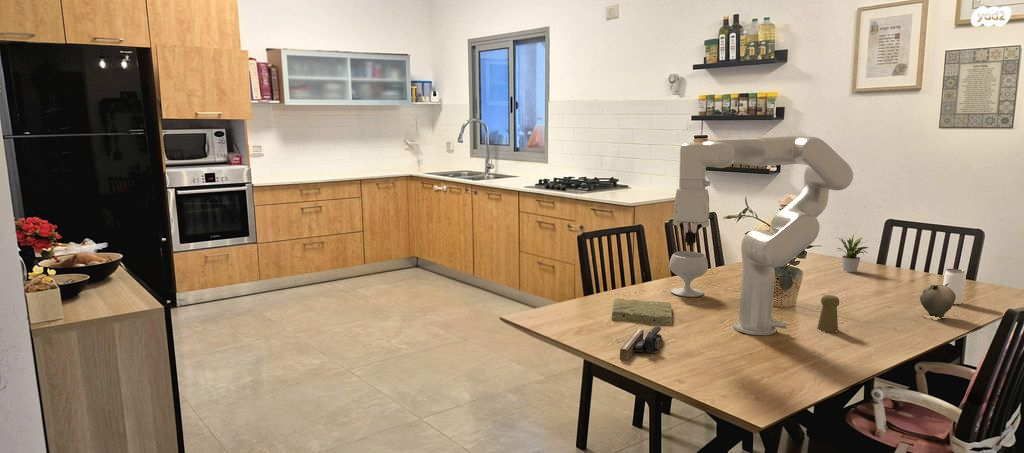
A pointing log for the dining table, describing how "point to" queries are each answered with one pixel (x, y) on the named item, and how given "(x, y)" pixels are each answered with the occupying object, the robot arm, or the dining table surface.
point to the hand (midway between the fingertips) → (690, 244)
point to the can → (955, 282)
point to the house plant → (851, 255)
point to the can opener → (650, 341)
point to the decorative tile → (642, 311)
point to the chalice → (688, 270)
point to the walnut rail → (631, 344)
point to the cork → (828, 314)
